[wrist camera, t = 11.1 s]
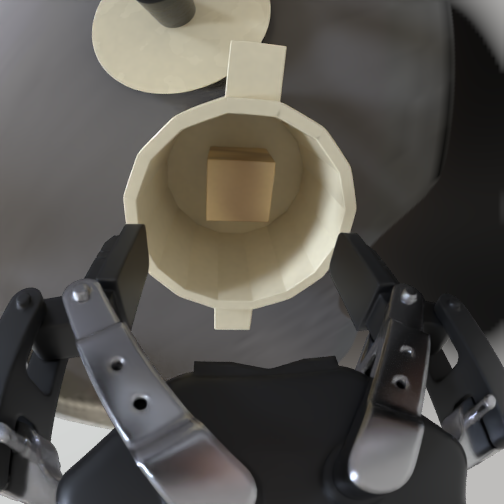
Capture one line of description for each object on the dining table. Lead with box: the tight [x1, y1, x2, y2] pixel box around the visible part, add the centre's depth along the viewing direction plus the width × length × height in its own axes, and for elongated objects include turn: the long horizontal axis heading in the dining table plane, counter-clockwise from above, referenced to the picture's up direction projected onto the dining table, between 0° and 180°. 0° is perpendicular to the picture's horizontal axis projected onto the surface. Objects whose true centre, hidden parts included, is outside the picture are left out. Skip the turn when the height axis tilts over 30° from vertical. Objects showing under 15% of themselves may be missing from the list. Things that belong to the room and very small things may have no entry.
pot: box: [123, 40, 357, 330], centre depth 16 cm, size 11×17×8 cm
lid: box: [92, 0, 271, 94], centre depth 10 cm, size 12×12×7 cm
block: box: [206, 146, 276, 222], centre depth 18 cm, size 4×4×4 cm
